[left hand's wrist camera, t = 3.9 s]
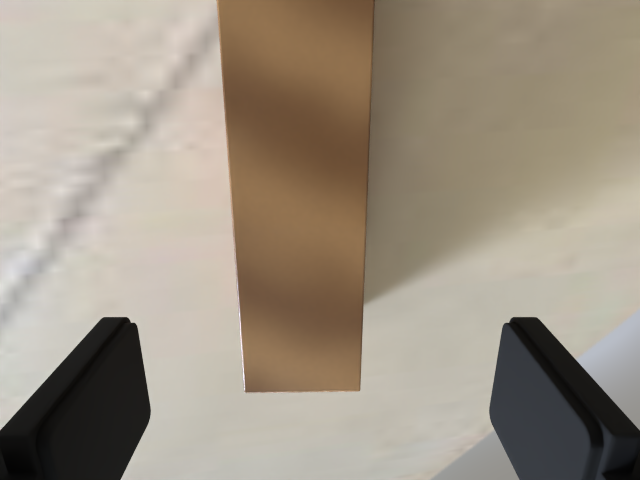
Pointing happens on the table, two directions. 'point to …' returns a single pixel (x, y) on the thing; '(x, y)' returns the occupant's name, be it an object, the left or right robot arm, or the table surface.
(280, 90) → the bar
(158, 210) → the table surface
